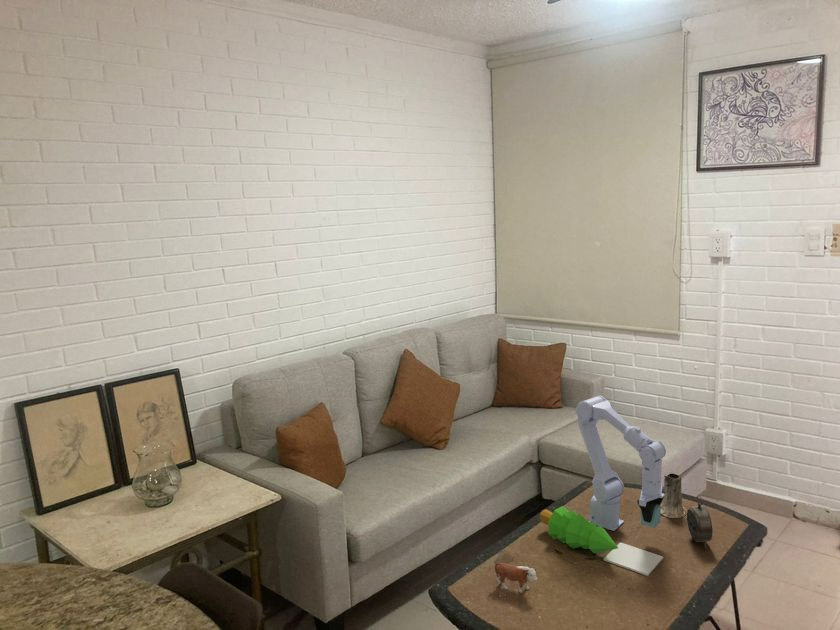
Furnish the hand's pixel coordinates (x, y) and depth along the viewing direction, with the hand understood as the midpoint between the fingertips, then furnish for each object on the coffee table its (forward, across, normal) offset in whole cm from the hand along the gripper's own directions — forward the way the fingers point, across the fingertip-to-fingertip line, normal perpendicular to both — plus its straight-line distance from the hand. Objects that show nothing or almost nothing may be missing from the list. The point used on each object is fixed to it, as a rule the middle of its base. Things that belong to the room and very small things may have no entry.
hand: (650, 518), depth 215 cm
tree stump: (+9, +24, +2) cm, 26 cm away
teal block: (+2, 0, 0) cm, 2 cm away
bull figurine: (+9, -48, +20) cm, 52 cm away
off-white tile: (+8, -13, 0) cm, 15 cm away
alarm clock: (+9, +9, -12) cm, 17 cm away
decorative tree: (+9, -17, +17) cm, 25 cm away
